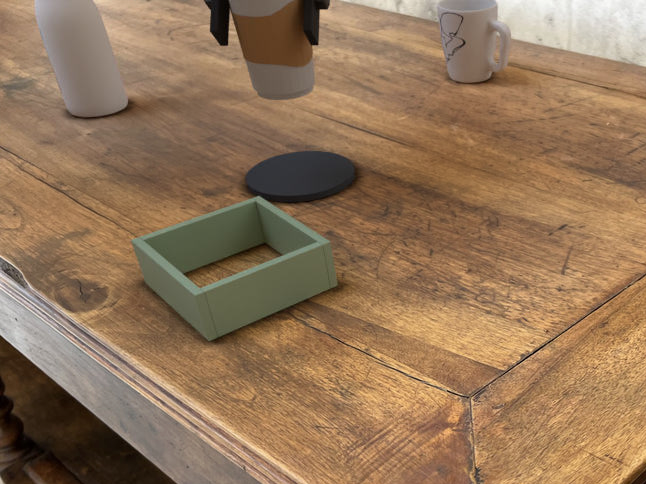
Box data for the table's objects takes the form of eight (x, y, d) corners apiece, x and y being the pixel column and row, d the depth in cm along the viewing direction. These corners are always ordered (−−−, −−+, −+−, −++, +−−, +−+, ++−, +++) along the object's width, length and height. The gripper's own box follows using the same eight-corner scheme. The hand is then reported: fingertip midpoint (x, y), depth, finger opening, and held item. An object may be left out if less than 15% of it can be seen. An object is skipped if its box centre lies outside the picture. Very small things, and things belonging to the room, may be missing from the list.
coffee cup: (283, 73, 89) (254, -82, 79) (341, 85, 85) (318, -75, 76) (227, 95, 83) (189, -68, 74) (287, 109, 80) (255, -59, 70)
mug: (526, 77, 117) (527, 4, 110) (492, 94, 111) (490, 17, 105) (465, 63, 122) (462, -8, 116) (429, 78, 117) (424, 5, 110)
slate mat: (227, 178, 91) (226, 171, 90) (318, 148, 97) (317, 142, 96) (282, 213, 84) (280, 206, 83) (375, 179, 90) (375, 172, 89)
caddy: (145, 283, 73) (130, 239, 70) (268, 237, 80) (258, 195, 77) (209, 341, 66) (194, 295, 63) (338, 285, 72) (330, 241, 70)
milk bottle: (141, 104, 109) (92, -60, 97) (91, 122, 104) (32, -48, 92) (106, 95, 113) (53, -65, 100) (56, 111, 108) (-6, -55, 95)
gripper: (385, -149, 83) (380, 57, 81) (186, -146, 84) (175, 58, 82) (371, -209, 76) (364, 16, 74) (152, -206, 77) (139, 17, 74)
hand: (265, 38), depth 78 cm, fingers closed on coffee cup, 8 cm apart
